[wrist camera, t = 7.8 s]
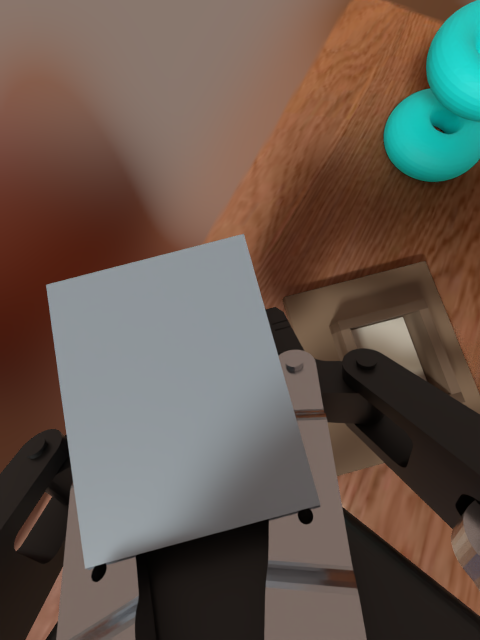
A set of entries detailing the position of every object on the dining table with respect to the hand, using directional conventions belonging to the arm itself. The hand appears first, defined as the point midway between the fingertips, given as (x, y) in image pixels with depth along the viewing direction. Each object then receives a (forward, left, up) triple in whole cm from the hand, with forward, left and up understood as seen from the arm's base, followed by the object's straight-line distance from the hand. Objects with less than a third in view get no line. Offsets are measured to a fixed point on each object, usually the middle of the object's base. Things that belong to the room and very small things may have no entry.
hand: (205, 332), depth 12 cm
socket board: (-11, +9, -14) cm, 20 cm away
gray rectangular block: (+1, +2, -5) cm, 5 cm away
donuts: (-30, -6, -15) cm, 34 cm away
